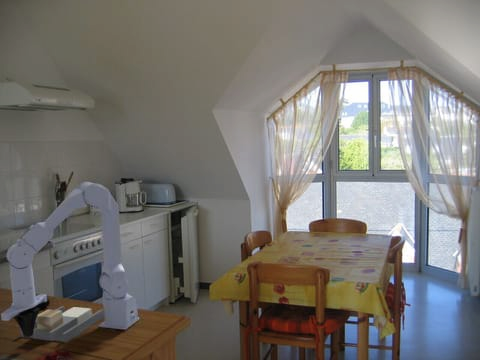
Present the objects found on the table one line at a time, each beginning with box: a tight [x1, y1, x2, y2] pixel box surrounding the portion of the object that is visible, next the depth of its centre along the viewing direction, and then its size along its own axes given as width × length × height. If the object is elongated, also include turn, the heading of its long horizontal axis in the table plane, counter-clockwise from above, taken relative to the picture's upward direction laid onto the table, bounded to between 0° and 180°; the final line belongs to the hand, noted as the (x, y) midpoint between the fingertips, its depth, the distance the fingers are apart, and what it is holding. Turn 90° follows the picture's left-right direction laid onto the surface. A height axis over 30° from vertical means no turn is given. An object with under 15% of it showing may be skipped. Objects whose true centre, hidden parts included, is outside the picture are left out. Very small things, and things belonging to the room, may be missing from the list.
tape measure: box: [35, 294, 51, 310], centre depth 162 cm, size 7×7×4 cm
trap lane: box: [19, 305, 105, 343], centre depth 144 cm, size 16×18×2 cm
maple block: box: [36, 308, 63, 331], centre depth 138 cm, size 5×5×4 cm
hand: (28, 335), depth 131 cm, fingers closed
